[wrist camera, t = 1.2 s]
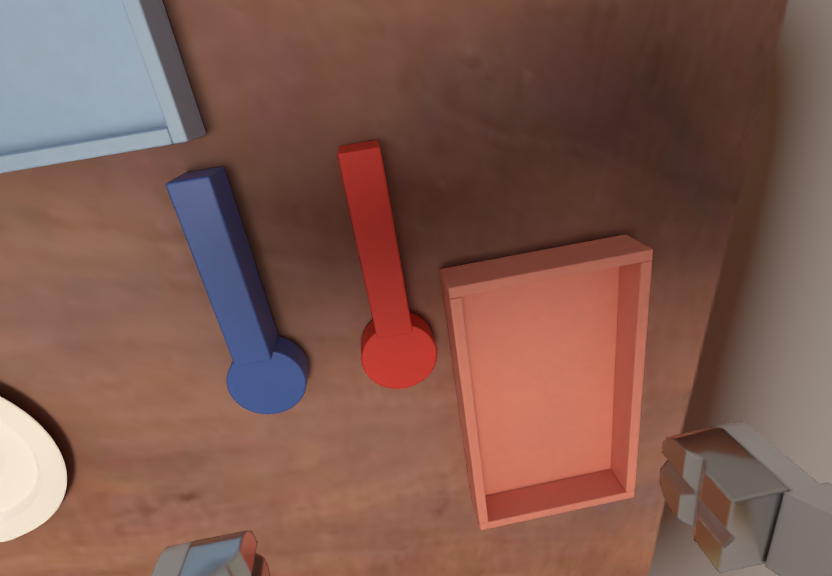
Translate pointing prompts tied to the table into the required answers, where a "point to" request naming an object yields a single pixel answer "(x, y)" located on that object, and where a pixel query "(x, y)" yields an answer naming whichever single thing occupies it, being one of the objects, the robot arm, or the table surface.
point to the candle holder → (27, 473)
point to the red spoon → (383, 275)
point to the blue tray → (89, 81)
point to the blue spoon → (237, 295)
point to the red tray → (550, 375)
